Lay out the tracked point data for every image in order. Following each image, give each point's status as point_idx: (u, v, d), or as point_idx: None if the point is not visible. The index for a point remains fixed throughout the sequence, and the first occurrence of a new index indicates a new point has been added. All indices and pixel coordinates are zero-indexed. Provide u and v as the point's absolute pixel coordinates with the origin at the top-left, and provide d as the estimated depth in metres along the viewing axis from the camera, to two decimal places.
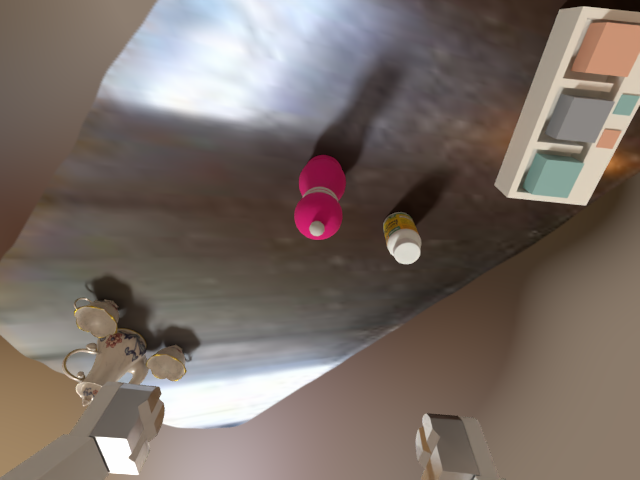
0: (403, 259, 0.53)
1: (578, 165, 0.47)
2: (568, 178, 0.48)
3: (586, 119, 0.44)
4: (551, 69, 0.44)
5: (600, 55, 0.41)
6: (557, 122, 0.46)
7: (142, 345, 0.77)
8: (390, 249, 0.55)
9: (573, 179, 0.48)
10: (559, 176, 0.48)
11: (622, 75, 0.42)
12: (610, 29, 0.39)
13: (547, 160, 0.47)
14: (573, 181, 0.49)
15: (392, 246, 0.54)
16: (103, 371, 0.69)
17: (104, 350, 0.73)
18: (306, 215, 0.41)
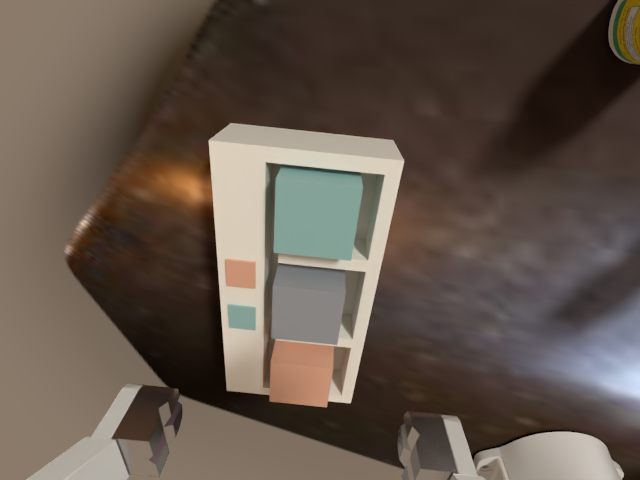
0: None
1: (283, 248, 0.23)
2: (292, 224, 0.22)
3: (304, 318, 0.26)
4: None
5: (319, 382, 0.29)
6: None
7: None
8: None
9: (281, 221, 0.22)
10: (313, 228, 0.22)
11: (278, 364, 0.28)
12: (318, 402, 0.31)
13: (349, 258, 0.23)
14: (279, 217, 0.22)
15: None
16: None
17: None
18: None
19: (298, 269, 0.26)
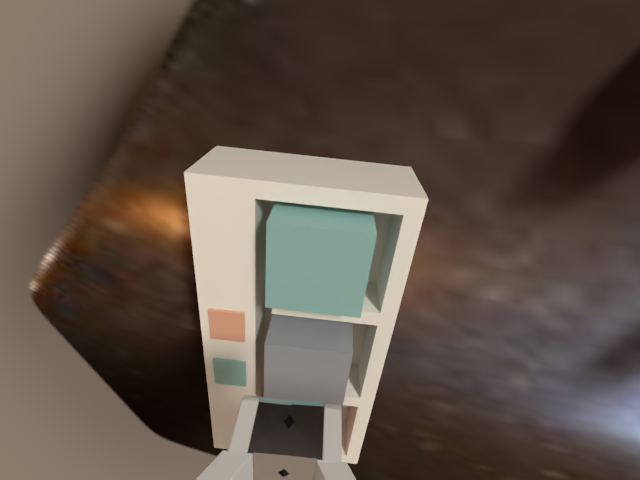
0: None
1: (277, 302, 0.18)
2: (287, 276, 0.18)
3: (303, 380, 0.21)
4: None
5: None
6: None
7: None
8: None
9: (274, 271, 0.17)
10: (314, 280, 0.18)
11: None
12: None
13: (358, 315, 0.19)
14: (271, 267, 0.17)
15: None
16: None
17: None
18: None
19: (296, 319, 0.22)
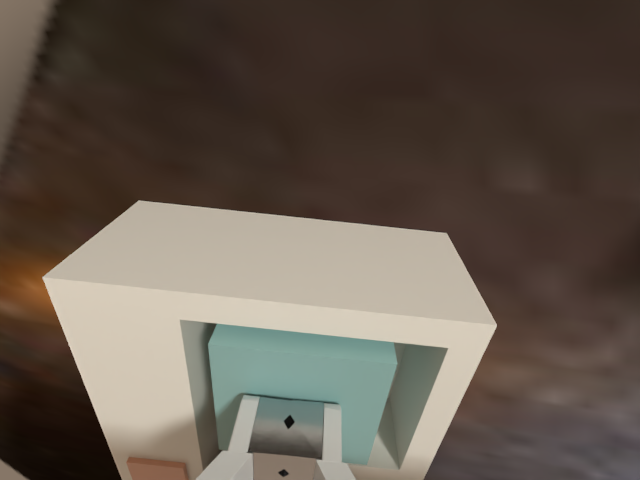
0: None
1: None
2: None
3: None
4: None
5: None
6: None
7: None
8: None
9: (229, 408, 0.11)
10: None
11: None
12: None
13: (363, 461, 0.12)
14: (223, 402, 0.11)
15: None
16: None
17: None
18: None
19: None
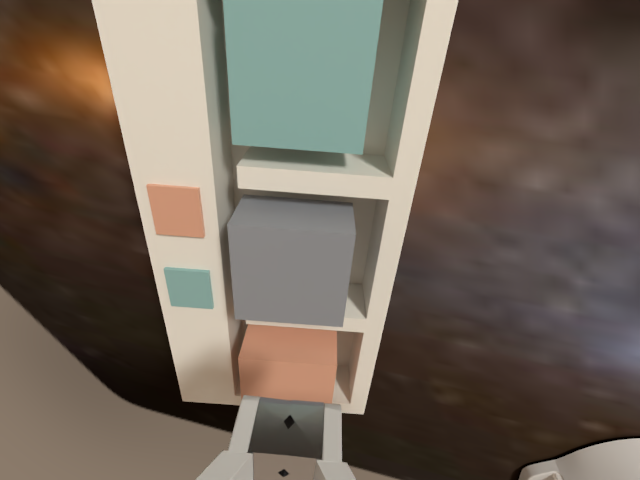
0: None
1: (248, 135, 0.13)
2: (259, 85, 0.12)
3: (287, 283, 0.15)
4: None
5: (316, 387, 0.19)
6: None
7: None
8: None
9: (241, 78, 0.12)
10: (297, 90, 0.13)
11: (250, 360, 0.18)
12: None
13: (359, 151, 0.14)
14: (235, 70, 0.12)
15: None
16: None
17: None
18: None
19: (275, 203, 0.16)
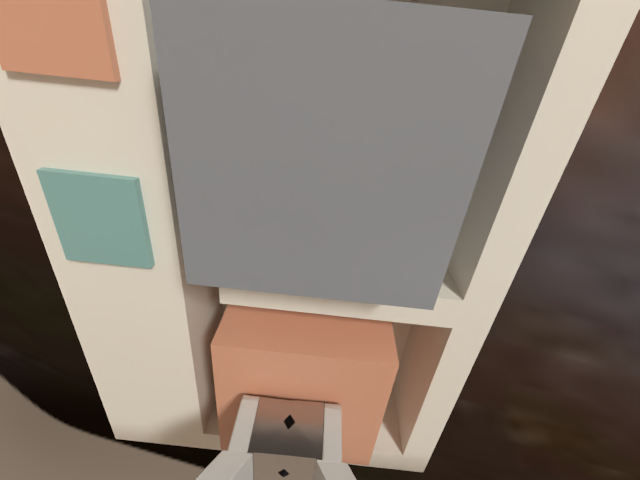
0: None
1: None
2: None
3: (313, 189, 0.06)
4: None
5: (353, 404, 0.10)
6: None
7: None
8: None
9: None
10: None
11: (234, 350, 0.09)
12: (348, 453, 0.12)
13: None
14: None
15: None
16: None
17: None
18: None
19: None
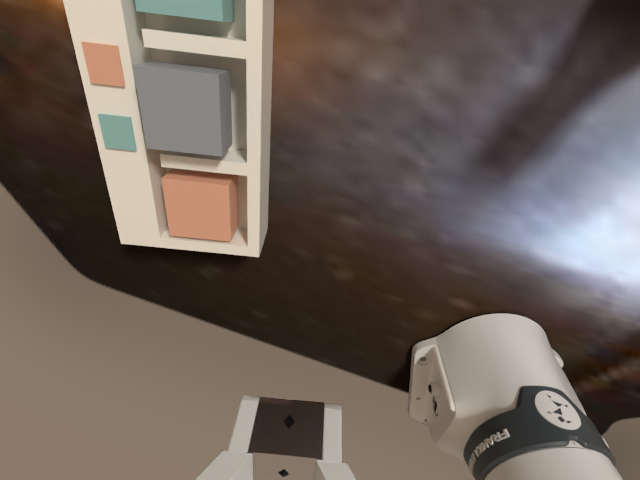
0: None
1: (146, 4, 0.21)
2: None
3: (179, 116, 0.23)
4: (263, 180, 0.28)
5: (217, 206, 0.28)
6: (224, 103, 0.23)
7: None
8: None
9: None
10: None
11: (170, 180, 0.27)
12: (221, 234, 0.29)
13: (220, 18, 0.21)
14: None
15: None
16: None
17: None
18: None
19: (173, 64, 0.23)
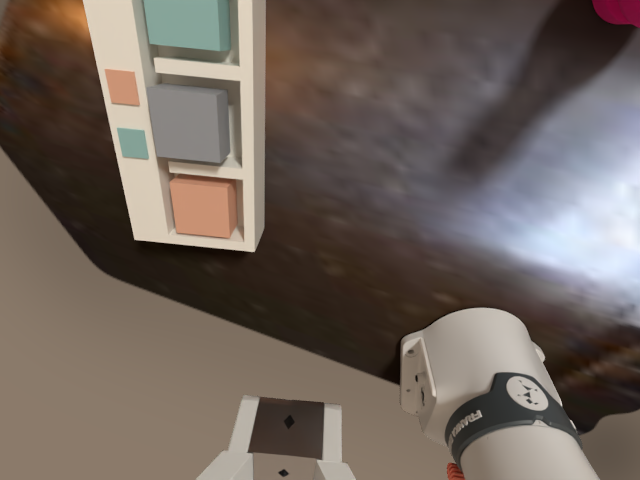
0: None
1: (158, 38, 0.25)
2: (160, 8, 0.24)
3: (183, 129, 0.27)
4: (257, 184, 0.32)
5: (217, 206, 0.32)
6: (222, 118, 0.27)
7: None
8: None
9: (150, 5, 0.24)
10: (180, 12, 0.24)
11: (176, 184, 0.31)
12: (221, 231, 0.33)
13: (218, 48, 0.25)
14: (147, 0, 0.24)
15: None
16: None
17: None
18: None
19: (180, 86, 0.27)
